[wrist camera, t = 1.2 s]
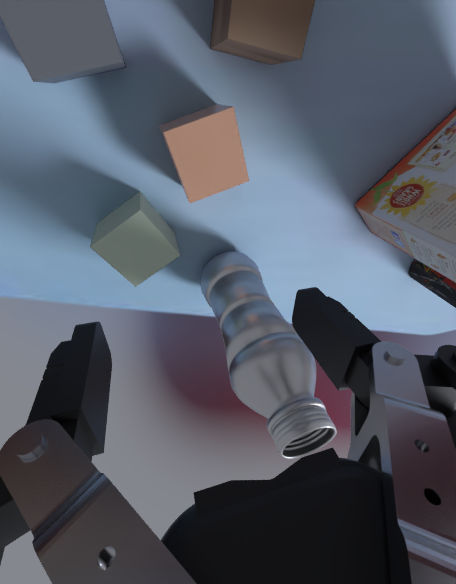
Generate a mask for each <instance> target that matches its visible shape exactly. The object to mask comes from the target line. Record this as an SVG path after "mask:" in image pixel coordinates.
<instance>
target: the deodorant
mask: <svg viewBox="0 0 456 584" xmlns="http://www.w3.org/2000/svg"><path fill="white" fill-rule="evenodd" d="M409 275H410V277H411V278H413V279H414V280H416V281H417V282H419V283H420V284H421V285H423V286H424V287H426V288H427V289H429V290H430V291H432V292H433V293H435V294H436V295H438V296H439V297H441V298H442V299H443V300H445V301H446V302H448V303H449V304H451V305H452V306H454V307H455V308H456V282H454V281H452V280H451V279H449V278H447V277H446V276H444V275H442V274H440V273H439V272H437V271H435V270H434V269H432V268H430V267H429V266H427V265H425V264H423V263H422V262H420V261H418V260H417V259H414V261H413V262H412V264H411V266H410V269H409Z"/></svg>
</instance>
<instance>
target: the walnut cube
mask: <svg viewBox="0 0 456 584" xmlns="http://www.w3.org/2000/svg"><path fill="white" fill-rule="evenodd" d="M314 2H315V0H214V10H213V21H212V32H211V44H210V49H212V50H216V51H220V52H224V53H228V54H232V55H236V56H240V57H243V58H247V59H251V60H255V61H259V62H263V63H267V64H271V65H273V64H278V63H283V62H288V61H293V60H298V59H301V57H302V53H303V49H304V45H305V40H306V36H307V32H308V28H309V24H310V19H311V15H312V11H313V7H314Z"/></svg>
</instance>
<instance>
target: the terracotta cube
mask: <svg viewBox="0 0 456 584" xmlns="http://www.w3.org/2000/svg"><path fill="white" fill-rule="evenodd" d="M159 127H160V130H161V132H162V135H163V138H164V140H165V143H166V145H167V148H168V151H169V153H170V156H171V159H172V161H173V164H174V167H175V169H176V172H177V175H178V177H179V180H180V182H181V185H182V187H183V190H184V192H185V194H186V196H187V198H188V200H189V203H192V202H195V201H197V200H200V199H203V198H205V197H208V196H211V195H213V194H216V193H219V192H221V191H224V190H226V189H229V188H232V187H234V186H237V185H240V184H242V183H245V182H248V181H249V178H248V173H247V168H246V164H245V159H244V154H243V149H242V145H241V140H240V135H239V131H238V126H237V121H236V116H235V112H234V107H232V106H226V105H219V104H215V105H213V106H210V107H207V108H204V109H202V110H199V111H196V112H194V113H191V114H188V115H185V116H183V117H180V118H177V119H174V120H172V121H169V122H166V123H163V124H161V125H159Z"/></svg>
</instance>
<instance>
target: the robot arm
mask: <svg viewBox="0 0 456 584" xmlns="http://www.w3.org/2000/svg"><path fill="white" fill-rule="evenodd" d="M292 323H293V327H294V329H295V331H296V333H297V334H298V335H299V337H300V338H301V340H302V341H303V342H304V344H305V345H306V346H307V348H308V349H309V351H310V352H311V353H312V355H313V356H314V358H315V359H316V360H317V362H318V363H319V364H320V366H321V367H322V369H323V370H324V371H325V373H326V374H327V376H328V377H329V378H330V380H331V381H332V382H333V384H334V385H335V387H336V388H337V389H338V390H339V391H340V390H343V389H347V388H351V390H352V391H353V394H352V396H351V443H350V449H349V453H348V458H347V459H345V458H339V457H338V456H337V454H336V452H335V450H334V449H333V448H330V449H327V450H324V451H321V452H318V453H315V454H312V455H308V456H305V457H303V458H301V459H300V460H298V461H297V462H295V463H294V464H293V465H291V466H290V467H289V468H287V469H286V470H285V471H283V472H282V473H281V474H279V475H278V476H276V477H275V478H273V479H271V480H235V481H234V480H232V481H228V482H225V483H222V484H219V485H216V486H213V487H210V488H207V489H204V490H200V491H197V492H194V499H195V504H194V505H192V506H191V507H190V508H188V509H187V510H186V511H185V512H183V513H182V514H181V515H180V516H179V517H178V518H177V519H176V520H175V522H174V523H173V524H172V525H171V526H170V528H169V529H168V530H167V532H166V533H165V534H164V536H163V537H162V539H161V541H160V540H159V538H158V537H157V536H156V535H155V533H154V532H153V531H152V530H151V529H150V528H149V526H148V525H147V524H146V523H145V522H144V520H143V519H142V518H141V517H140V516H139V515H138V513H137V512H136V511H135V510H134V509H133V507H132V506H131V505H130V504H129V503H128V501H127V500H126V499H125V498H124V497H123V496H122V494H121V493H120V492H119V491H118V489H117V488H116V487H115V486H114V485H113V484H112V482H111V481H110V480H109V479H108V478H107V477H106V476H105V475H104V474H103V473H100V472H99V471H98V469H97V468H96V467H95V466H94V465H93V463H92V462H91V461H92V456H94V455H97V454H101V453H104V444H105V433H106V423H107V412H108V402H109V391H110V380H111V371H112V359H111V353H110V349H109V346H108V343H107V340H106V338H105V335H104V332H103V329H102V326H101V324H100V322H92V323H86V324H80V325H76V326H75V329H74V332H73V335H72V339H71V341H65V342H61V343H60V344H59V345H58V346H57V348H56V349H55V350H54V351H53V352H52V353H51V355H50V358H49V361H48V364H47V366H46V367H47V369H46V370H45V372H44V375H43V380H42V381H41V383H40V386H39V389H38V392H37V395H36V398H35V401H34V403H33V406H32V409H31V412H30V415H29V418H28V420H27V423H26V425H25V426H24V427H23V428H21V429H19V430H18V431H17V432H16V433H14V434H13V435H12V436H11V437H10V438H9V439H8V440H7V441H6V443H5V444H4V445H3V447H2V449H1V450H0V564H1V560H2V556H3V552H4V548H5V546H7V545H8V544H10V543H11V542H13V541H14V540H16V539H17V538H19V537H20V536H22V535H24V534H25V533H27V532H28V531H30V530H31V531H32V534H33V536H34V540H33V547H34V550H35V552H36V554H37V556H38V558H39V560H40V562H41V564H42V565H43V567H44V569H45V571H46V573H47V575H48V577H49V578H50V581H51V582H52V584H456V346H453V345H444V346H441V347H439V348H438V350H437V352H436V353H435V355H434V356H429V355H413V354H412V353H411V352H410V351H409V350H408V349H406V348H405V347H402V346H401V345H398V344H395V343H392V342H381V341H380V340H379V339H378V338H377V337H376V336H375V335H374V334H373V333H372V332H371V331H370V330H369V329H368V328H366V327H365V326H364V325H363V324H362V323H361V322H360V321H359V320H358V319H357V318H355V316H354V315H353V314H352V313H351V312H348V310H347V309H346V308H345V307H344V306H343V305H342V304H341V303H340V302H338V301H336V300H334V299H332V298H330V297H326V296H325V295H324V294H323V293H322V292H321V291H320V290H319V289H318V288H316V287H313V288H307V289H301V290H298V292H297V294H296V299H295V304H294V310H293V315H292Z"/></svg>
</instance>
